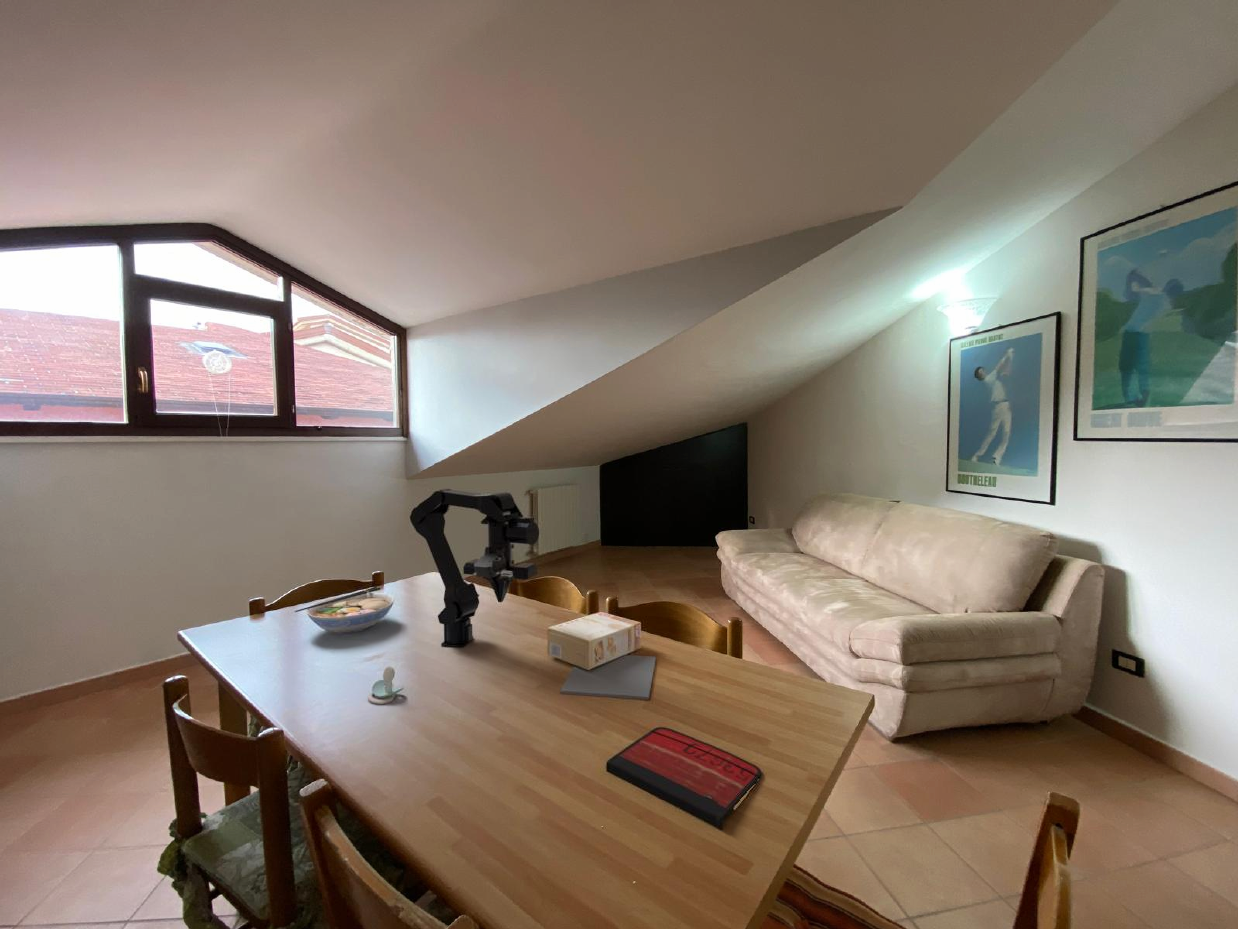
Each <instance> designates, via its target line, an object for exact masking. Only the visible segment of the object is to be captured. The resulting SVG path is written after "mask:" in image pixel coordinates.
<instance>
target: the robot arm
mask: <svg viewBox="0 0 1238 929" xmlns="http://www.w3.org/2000/svg"><path fill="white" fill-rule="evenodd" d="M512 495H513V494H511V493H510V492H506V491H504V492H494V493H477V492H468V491H462V490H461V491H460V490H456V489H455V490H454V489H450V488H444V489H437V490H435V491H434V492H432V494H431V495H430V496H429V497H427V498H426V499H424V500H423V501H422V502H420V503H419V504H418V505H417V506H416V507H413V509H412V510H411V512H410V515H409V519H410V522H411V524H412V526H413V529H414V531H415V532H416V533H417V534H419V535H420V536H422V538H424V540H425V541H426V543H427V545H428V548H429V551H430V553H431V556H432V559H433V560H434V563H435V566H436V568H437V571H438V573H439V576H440V578H441V580H442V584H443V586H444V594H443V595H444V596H443V603H444V606H445V607H444V608H443V609H442V610H441V611H440V613H439V614H438V615H437V619H438V623H439V624H440V625H443V642H441V644H440V646H441V647H453V648H455V647H456V648H457V647H459V648H464V647H465V646H467V644H469V643H470V642H472V640H473V639H474V635H473V623H472V621H471V620H472V617H475V616H476V615H475V614H476V612H477V609H478V608H479V605H480V599H479V597H480V595H479V593H478V591H477V589H476V585H475V584H474V582H471V583H468V582H467V581H465V580H464V578H463V576H462V574H461V571H460V569H459V566H458V563H457V561H456V559H455V556H454V553H453V552H452V548H451V547H450V545H449V542H448V539H447V537H446V535H445V526H446V519H445V515H446V514H447V513H448V512H449V510H450V507H451V506H453V507H459V508H466V509H472V510H473V509H474V510H476V511H479V513H480V514H483V515H485V517H484V518H483V519H482V520H481V521H480V525H487V529H488V530H487V533H488V534H487V535H488V536H487V538H488V539H487V541H488V546H485V547H484V555H482V556H481V557H480V558H474V559H472V560H469V561H467V562H465V564H464V566H463V567H462V568H463V569H462V570H463V575H472V576H473V575H474V574H475V575H476V577H477V578H482V579H483V580H487V581H488V583H489V584H490V585H491V587H492V590H493V592H494V594H495V597H496V600H497V602H498V603H502V602H504V600H505V597H506V596H507V593H508V590H509V588H510V586H511V584H512V581H513V580H514V579H516V580H524V581H525V580H529V579H531V578H533V577H534V576H537V575H538V567H537V565H536V564H535V563H529V562H522V563H519V564H518V565H514V564H515V560H514V559H512V549H515V544H518V545H527V546H534V545H535V544H536V543H537V541H538V540H539V537H540V528H539V526H538V524H537V523H536V521H535V517H533V516H529V517H524V515H523V513H522V512H521V510H520V508H519V507H518V506H517V503H516V502H515V499H514V497H513V496H512Z"/></svg>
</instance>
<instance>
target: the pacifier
mask: <svg viewBox="0 0 1238 929" xmlns="http://www.w3.org/2000/svg"><path fill="white" fill-rule="evenodd" d="M395 674H396V672H395V669H394V667H392V666H386V667H385V668H384V669H383V674H382V679H380V680H377V681H376V682H374V684H373V685H372V687H371V692H370V693H369V694H368V695H367V700H368V701H369V702H371V703H373V704H377V705H382V704H383V705H384V704H388V703H390V702H392V701H393V700H394V699H395V697H394V696H396V694H398V693H399V692H402V691H403V690H404V687H397V688H396V687H395V685H394V684H393V680H394V678H395ZM374 696H375V697H379V698H380V699H376V698H374Z"/></svg>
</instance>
